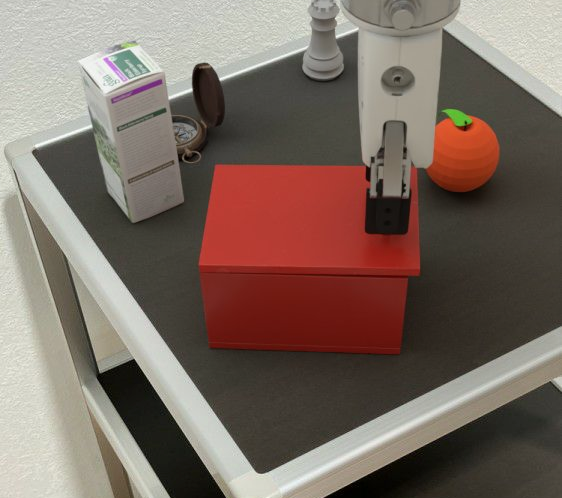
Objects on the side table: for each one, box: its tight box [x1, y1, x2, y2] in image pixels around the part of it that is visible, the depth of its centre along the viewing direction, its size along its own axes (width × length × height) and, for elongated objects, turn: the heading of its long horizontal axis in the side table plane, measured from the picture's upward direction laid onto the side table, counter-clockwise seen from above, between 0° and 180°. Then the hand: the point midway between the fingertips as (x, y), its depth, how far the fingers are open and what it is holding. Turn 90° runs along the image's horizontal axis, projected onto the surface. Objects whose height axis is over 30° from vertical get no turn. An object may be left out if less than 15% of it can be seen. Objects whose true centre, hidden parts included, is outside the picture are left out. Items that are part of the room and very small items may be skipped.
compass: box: [171, 61, 226, 165], centre depth 93 cm, size 8×8×7 cm
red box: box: [199, 271, 409, 355], centre depth 79 cm, size 16×12×9 cm
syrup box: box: [77, 40, 185, 224], centre depth 86 cm, size 6×6×14 cm
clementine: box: [425, 108, 500, 193], centre depth 89 cm, size 8×7×7 cm
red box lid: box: [198, 148, 421, 277], centre depth 73 cm, size 16×12×5 cm
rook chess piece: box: [301, 0, 345, 82], centre depth 100 cm, size 4×4×8 cm
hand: (386, 203), depth 74 cm, fingers closed on red box lid, 5 cm apart
